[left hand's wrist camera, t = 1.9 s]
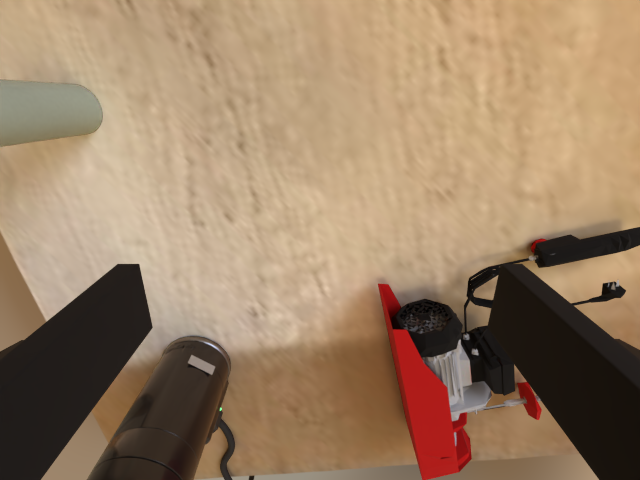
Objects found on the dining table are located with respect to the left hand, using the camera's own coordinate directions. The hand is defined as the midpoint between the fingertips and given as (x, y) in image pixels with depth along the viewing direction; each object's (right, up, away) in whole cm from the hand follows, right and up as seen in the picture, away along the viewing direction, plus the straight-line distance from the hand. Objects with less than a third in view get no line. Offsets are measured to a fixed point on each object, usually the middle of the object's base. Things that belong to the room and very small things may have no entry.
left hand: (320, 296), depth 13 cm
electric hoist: (+25, -11, +34) cm, 44 cm away
